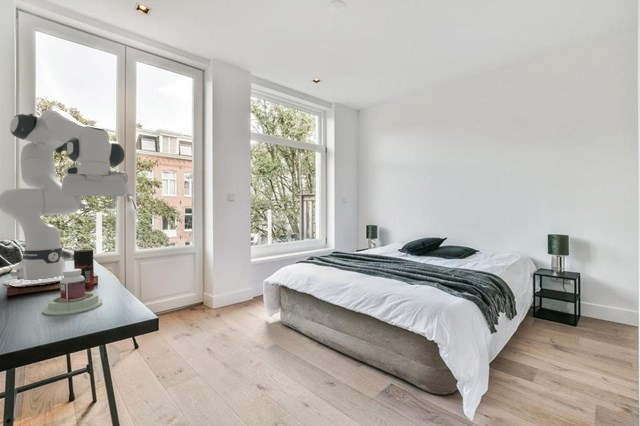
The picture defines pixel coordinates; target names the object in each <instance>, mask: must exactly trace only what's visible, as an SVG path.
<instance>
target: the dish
mask: <svg viewBox="0 0 640 426" xmlns="http://www.w3.org/2000/svg"><path fill="white" fill-rule="evenodd" d="M47 301H48V302H47V305H46V306H44V308H42V314H44V315H47V316H65V315H72V314H77V313H79V314H80V313H83V312H87V311H90V310H94V309H97V308H98V307H101V306H102V305H103V299H102V298H100V297H99V295H98V293H97V292H91V291H85V299H84V300H80V301H74V302H65V303H61V295H59V296H54V297H52V298H50V299H48V300H47Z"/></svg>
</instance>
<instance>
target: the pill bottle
mask: <svg viewBox="0 0 640 426" xmlns="http://www.w3.org/2000/svg"><path fill="white" fill-rule="evenodd" d="M81 273H82V272H81V269H74V268H71V269H66V270H65V271H63V276H64V278H62V279H61V280H60V283H59V284H60V288H59V289H60V296H61V303H65V302H74V301H80V300H84V299H85V292H86V291H85V278H84V276H81Z"/></svg>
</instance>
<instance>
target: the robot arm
mask: <svg viewBox="0 0 640 426" xmlns="http://www.w3.org/2000/svg"><path fill="white" fill-rule="evenodd" d="M9 127H10V133H11V134H12V136H13V137H16V138H18V139H21V140H24V141H25V140H26V141H28V142H29V143H27V144H24V146H23V147H22V150H21V153H20V171H21V178H22V181H23V182H24V183H25V184H26V185H27V186H28V187H30V188H22V187H21V188H12V189H5V190H4V191H2V192H1V193H0V211H1V212H2V213H4V214H5V215H7V216H9V217H11V218H12V219H13V220H15V221H16V222H17V223H18V224H19V225H20V227H21V229H22V232H23V234H24V245H25V249H24V250H23V251H21V253H22V260H21V261H20V262H19V263H17V264H16V265H15V266H14V267H13V268H12V269H11V270H10V276H11V279H18V280H20V279H24V280H38V279H47V278H54V277H59V276H63V271H65V270H67V265H66V261H65V259H64V258H63V257H62V256H63V247H62V246H61V245H62V244H61V242H62V240H61V231H60V229H59V227H57V226H55V225H53V224H50V223H47V222H45V221H43V220H42V219H41V217H42V216H43V217H44V216H66V215H70V214H75V213H77V212H78V211H79V210H85V209H86V203H83V202H82V198H83V197H110V198H111V201H110V203H108V204H107V209H110V210H112V209H115V204H116V202H117V201H118V200H119V199H118V197H127V196H128V195H129V187H128V182H129V176H128V174H127V173H126V172H124V171H122V170H121V171H116V170H111V167H113V168H116V167H117V166H119V165H121V164H122V162H124V160H125V156H126V155H125V150H124V148H123V147H122V146H121V144H120V143H118V142H117V141H111V140H110V137H109V132H108V130H107V129H105V128H103V127H98V126H91V125H85V124H82V123H81V122H79V121H77V120H76V119H75V118H74V117H73V116H72V115H70V114H69V113H67V112H66V111H63V110H61V109H59V108H48V109H45V110H44V111H43V112H42V114H41V115H40V116H37V115H34V113H29V114H28V113H26V114H25V113H20V114H16V115H14V117H13V118H12V119H11V121H10V125H9ZM54 152H55V153H57V154H61V153H62V152H66V156H67V157H68V159H69V160H71V161H72V162H74V163H78V165H73V166H70V167H66V168H64V170H63V171H64V172H63V173H64V174H65V176H64V177H63V178H62V181H60V180H59V179H58V176H57V172H56V167H55V161H54ZM11 279H8V280H4V281H3V285H6V286H9V285H8V284H9V281H10V280H11Z"/></svg>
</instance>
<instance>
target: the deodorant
mask: <svg viewBox="0 0 640 426" xmlns="http://www.w3.org/2000/svg"><path fill="white" fill-rule="evenodd" d="M73 267H74V268H73V269H81V272H82V273H81V276H84V278H85V292H89V291H91V290H94V289H95V278H94V277H95V275H94V271H95V270H94V249H91V248H90V249H89V248H88V249H78V250H73Z"/></svg>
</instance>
